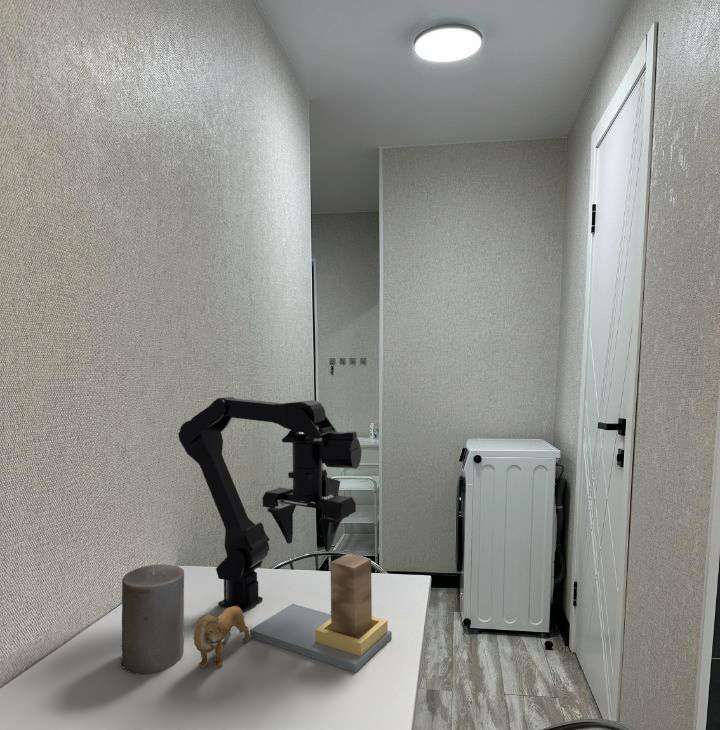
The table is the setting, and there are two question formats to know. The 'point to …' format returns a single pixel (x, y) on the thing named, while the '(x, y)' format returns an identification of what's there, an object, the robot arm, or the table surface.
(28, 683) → the table surface
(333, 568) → the walnut column
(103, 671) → the table surface
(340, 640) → the base board
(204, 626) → the lion figurine
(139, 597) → the pillar candle
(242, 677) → the table surface
